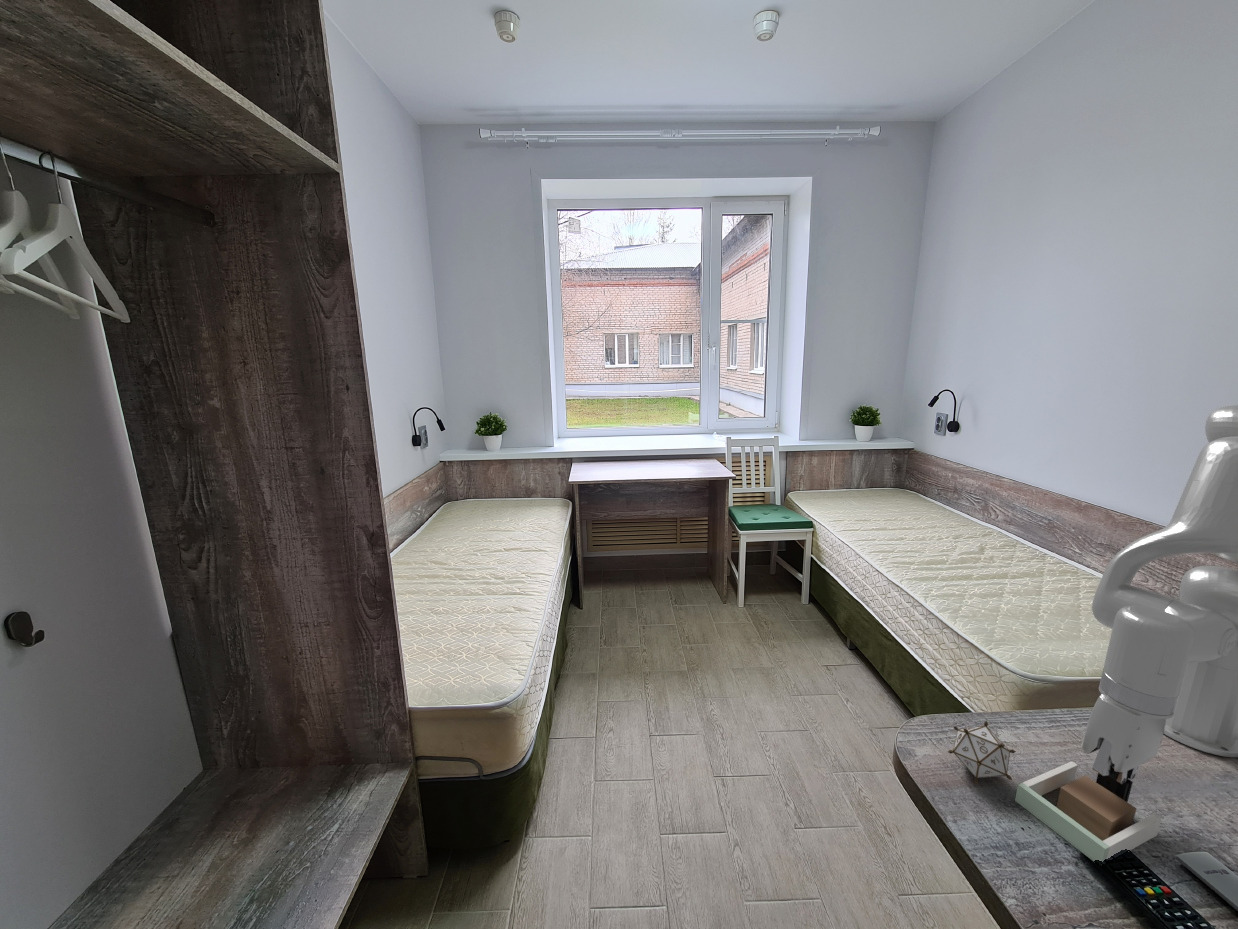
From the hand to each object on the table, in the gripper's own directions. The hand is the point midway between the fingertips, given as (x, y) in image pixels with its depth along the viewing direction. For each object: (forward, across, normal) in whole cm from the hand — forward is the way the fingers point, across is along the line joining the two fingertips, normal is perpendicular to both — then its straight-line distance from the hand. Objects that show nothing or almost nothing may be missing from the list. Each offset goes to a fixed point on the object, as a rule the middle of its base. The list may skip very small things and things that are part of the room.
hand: (1110, 796), depth 73 cm
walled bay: (+2, +6, 0) cm, 6 cm away
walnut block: (+2, +5, +1) cm, 5 cm away
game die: (+2, +13, -11) cm, 17 cm away
